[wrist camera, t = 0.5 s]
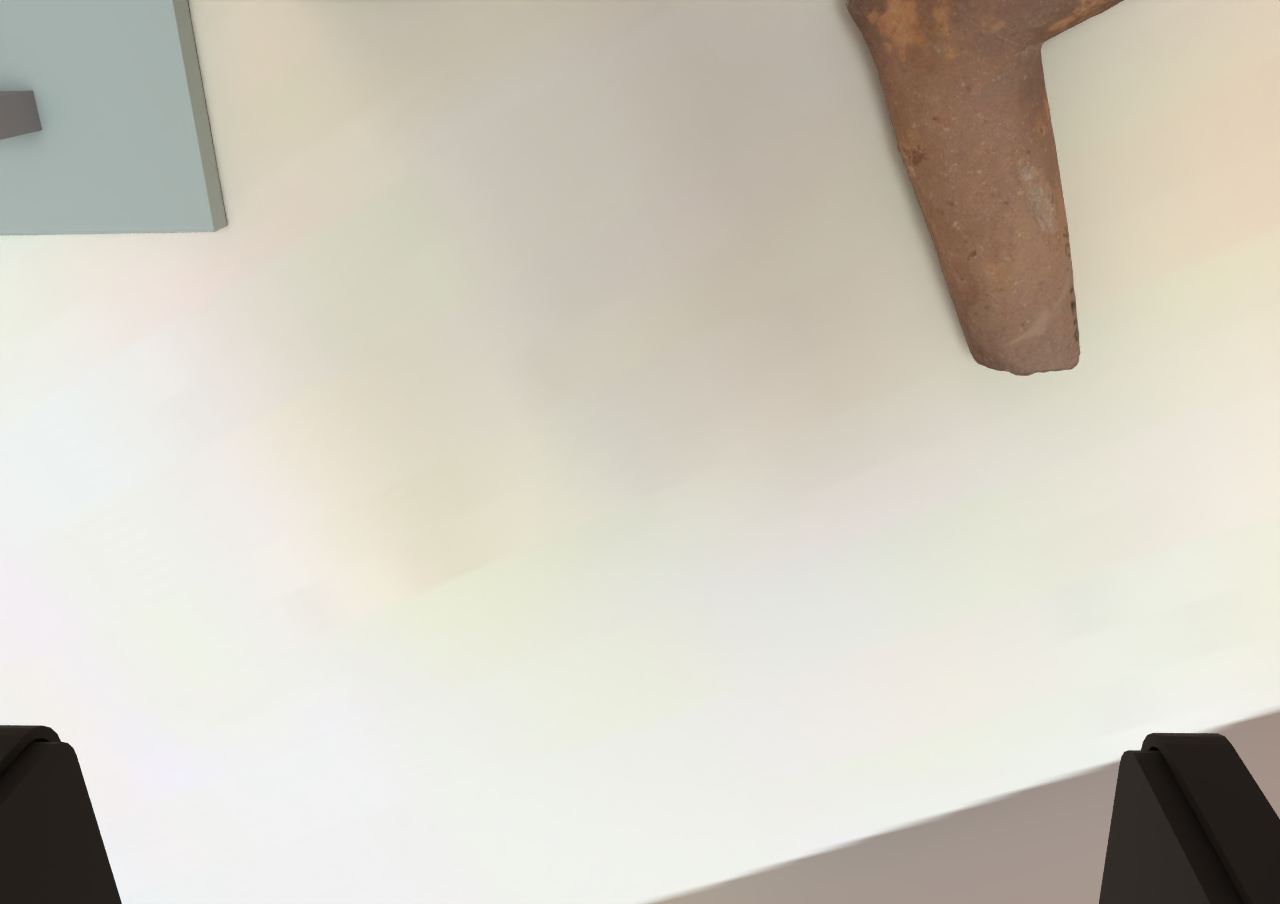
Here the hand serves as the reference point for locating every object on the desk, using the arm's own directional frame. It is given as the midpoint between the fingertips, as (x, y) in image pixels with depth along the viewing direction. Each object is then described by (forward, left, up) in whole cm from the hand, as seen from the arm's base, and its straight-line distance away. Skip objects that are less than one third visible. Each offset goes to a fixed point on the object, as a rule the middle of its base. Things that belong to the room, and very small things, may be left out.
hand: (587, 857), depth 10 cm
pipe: (-4, +11, -29) cm, 31 cm away
